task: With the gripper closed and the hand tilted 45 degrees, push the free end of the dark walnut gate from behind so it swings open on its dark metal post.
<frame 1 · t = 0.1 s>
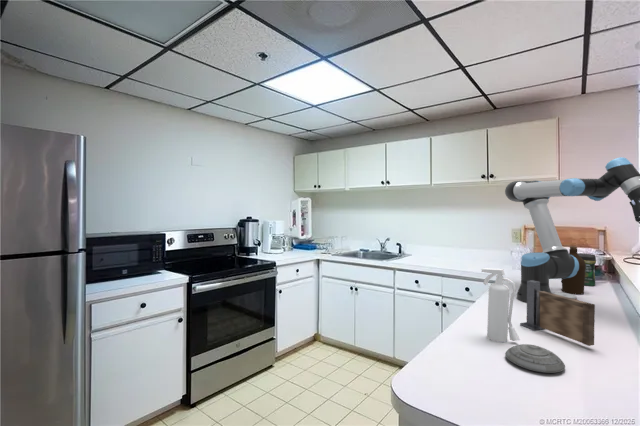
olive oil: (572, 292, 177), on the counter
coffee jar: (585, 284, 194), on the counter
gate: (562, 315, 115), point 8 cm above the counter, hinge at 0.0°
flying saucer: (533, 364, 98), on the counter
fire extinguisher: (500, 340, 115), on the counter
gate post: (533, 327, 126), on the counter
canned food: (564, 322, 132), on the counter
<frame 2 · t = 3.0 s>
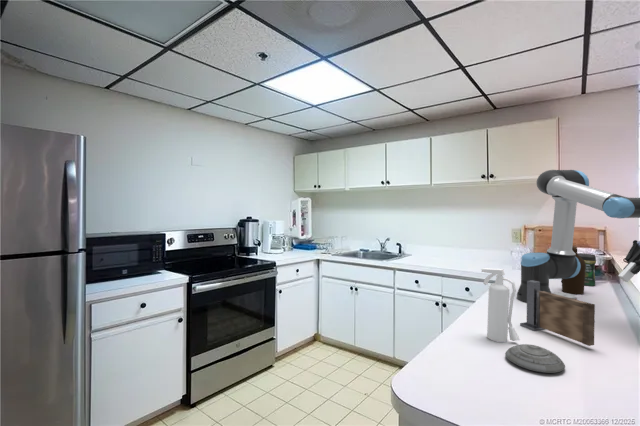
hand: (622, 278, 111), 22 cm above the counter, tool tilted 45°, fingers closed
nothing on the counter moved.
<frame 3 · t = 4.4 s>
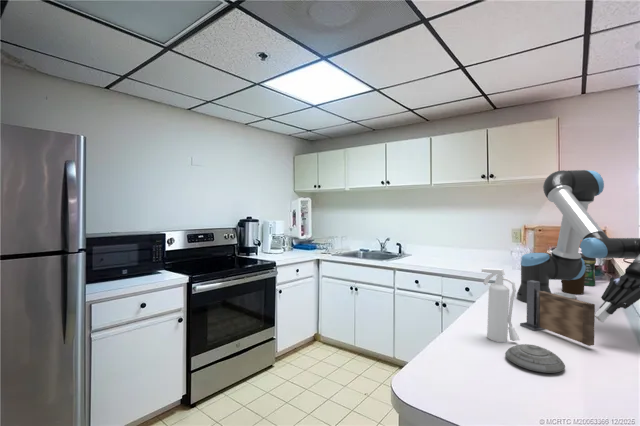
hand: (598, 318, 110), 9 cm above the counter, tool tilted 45°, fingers closed
nothing on the counter moved.
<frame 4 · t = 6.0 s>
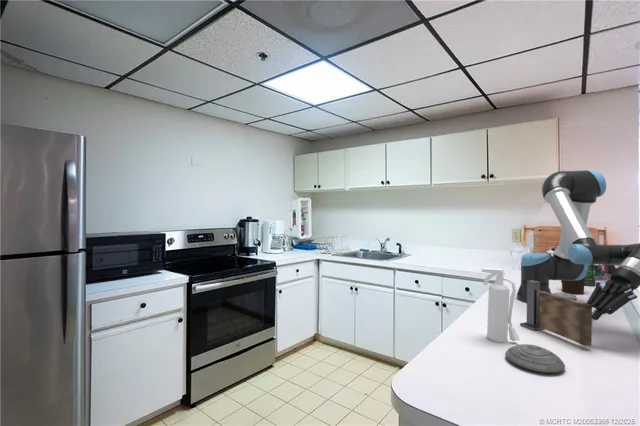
hand: (583, 324, 110), 7 cm above the counter, tool tilted 45°, fingers closed
gate: (561, 316, 115), point 8 cm above the counter, hinge at 4.2°, touching gripper
everything else where it was.
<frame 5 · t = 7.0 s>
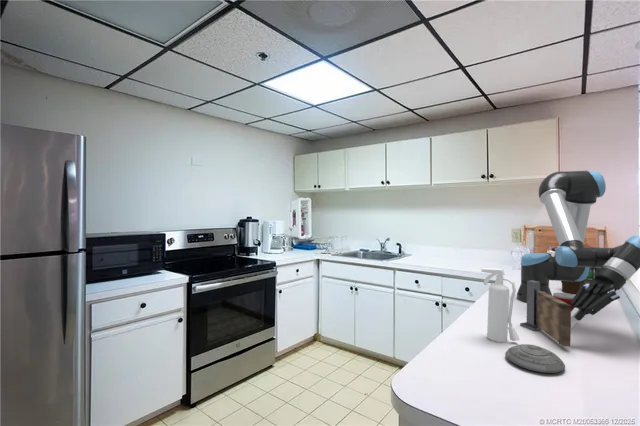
hand: (566, 324, 109), 7 cm above the counter, tool tilted 45°, fingers closed
gate: (551, 316, 115), point 8 cm above the counter, hinge at 27.8°, touching gripper
everything else where it was.
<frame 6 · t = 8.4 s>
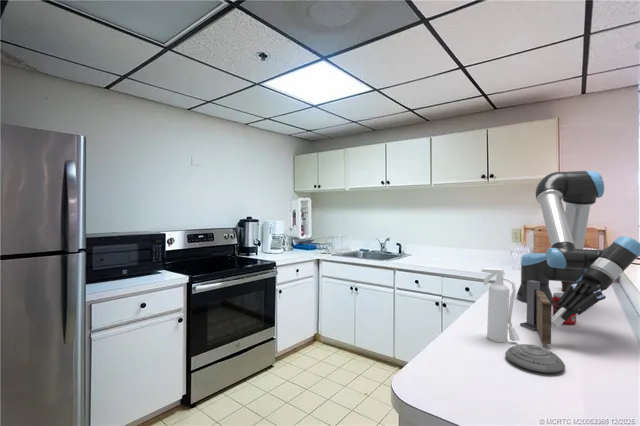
hand: (553, 324, 110), 7 cm above the counter, tool tilted 45°, fingers closed
gate: (542, 315, 116), point 8 cm above the counter, hinge at 45.1°, touching gripper
everything else where it was.
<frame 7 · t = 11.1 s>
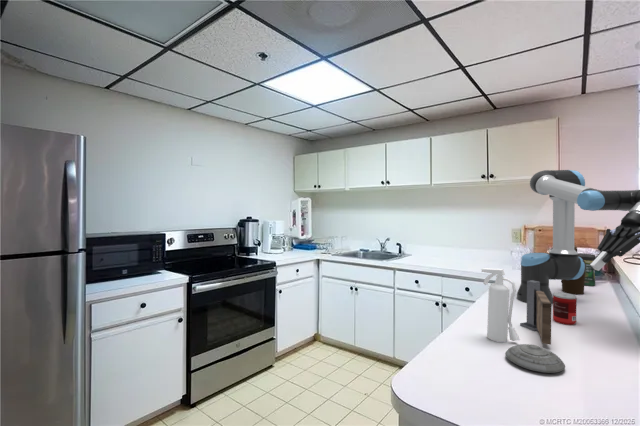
hand: (594, 267, 113), 26 cm above the counter, tool tilted 45°, fingers closed
gate: (542, 315, 116), point 8 cm above the counter, hinge at 45.1°
everything else where it was.
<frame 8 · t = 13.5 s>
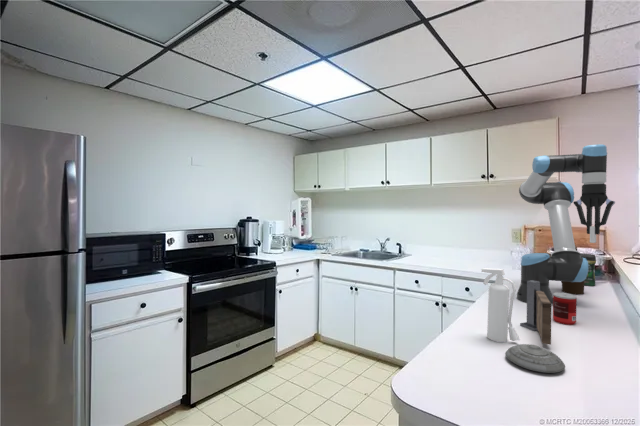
hand: (592, 242, 131), 32 cm above the counter, tool pointing down, fingers closed
nothing on the counter moved.
at the end: gate at +45° (first picture: +0°) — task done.
